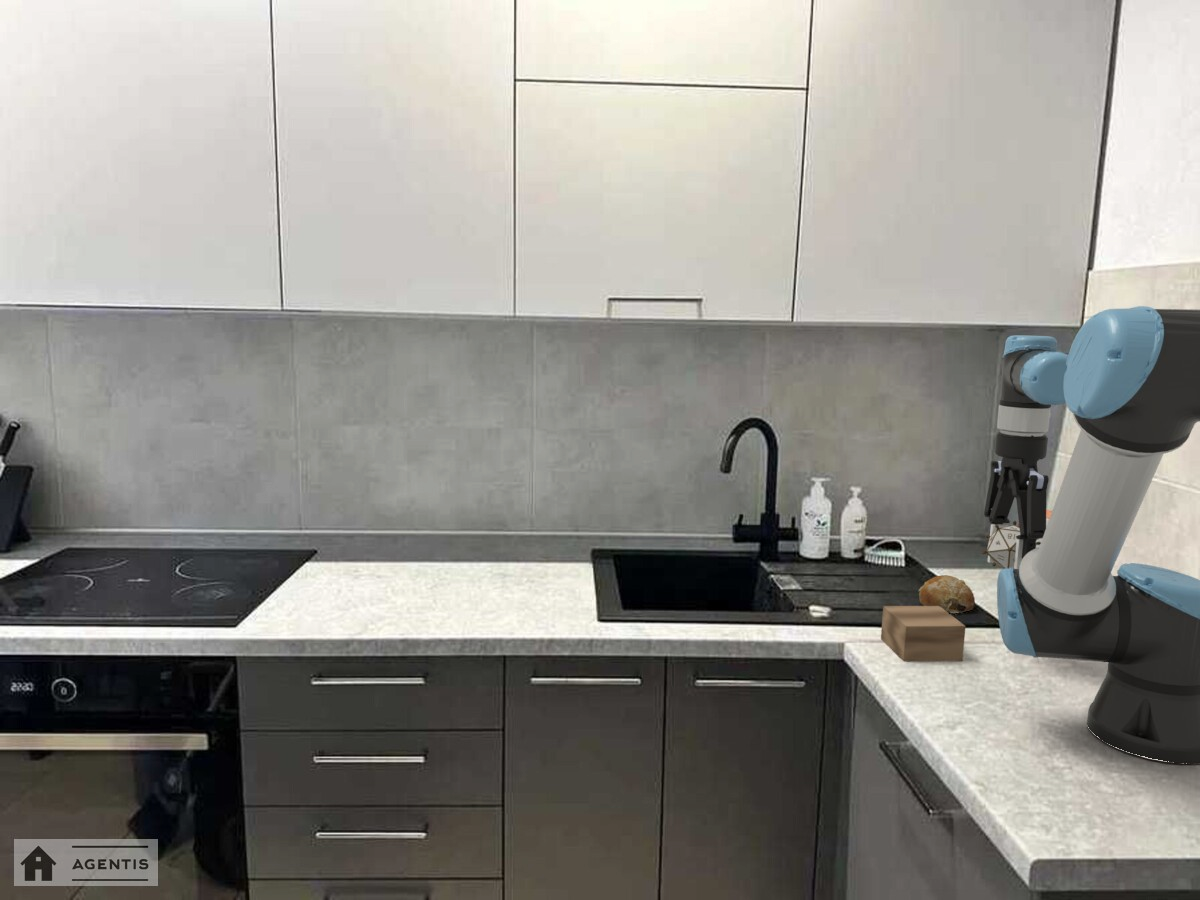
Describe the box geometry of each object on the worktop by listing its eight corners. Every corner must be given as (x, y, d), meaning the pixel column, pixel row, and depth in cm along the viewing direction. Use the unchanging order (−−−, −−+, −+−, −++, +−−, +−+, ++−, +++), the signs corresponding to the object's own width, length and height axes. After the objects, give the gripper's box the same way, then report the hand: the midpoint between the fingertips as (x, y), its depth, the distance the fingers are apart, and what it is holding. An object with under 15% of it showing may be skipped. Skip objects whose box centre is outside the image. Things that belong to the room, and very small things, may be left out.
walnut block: (962, 660, 149) (965, 626, 148) (903, 661, 149) (906, 626, 148) (936, 638, 159) (939, 605, 158) (880, 638, 158) (883, 606, 157)
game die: (997, 594, 148) (965, 547, 147) (1003, 564, 155) (973, 518, 153) (1052, 579, 142) (1019, 530, 141) (1056, 548, 149) (1024, 501, 147)
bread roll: (931, 631, 173) (945, 601, 168) (904, 594, 181) (917, 564, 177) (975, 627, 176) (990, 597, 171) (946, 591, 184) (960, 561, 179)
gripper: (1082, 442, 135) (1066, 589, 138) (1012, 424, 155) (1000, 552, 159) (1033, 442, 134) (1018, 589, 138) (969, 423, 155) (958, 552, 158)
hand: (1009, 569), depth 148 cm, fingers closed on game die, 8 cm apart
